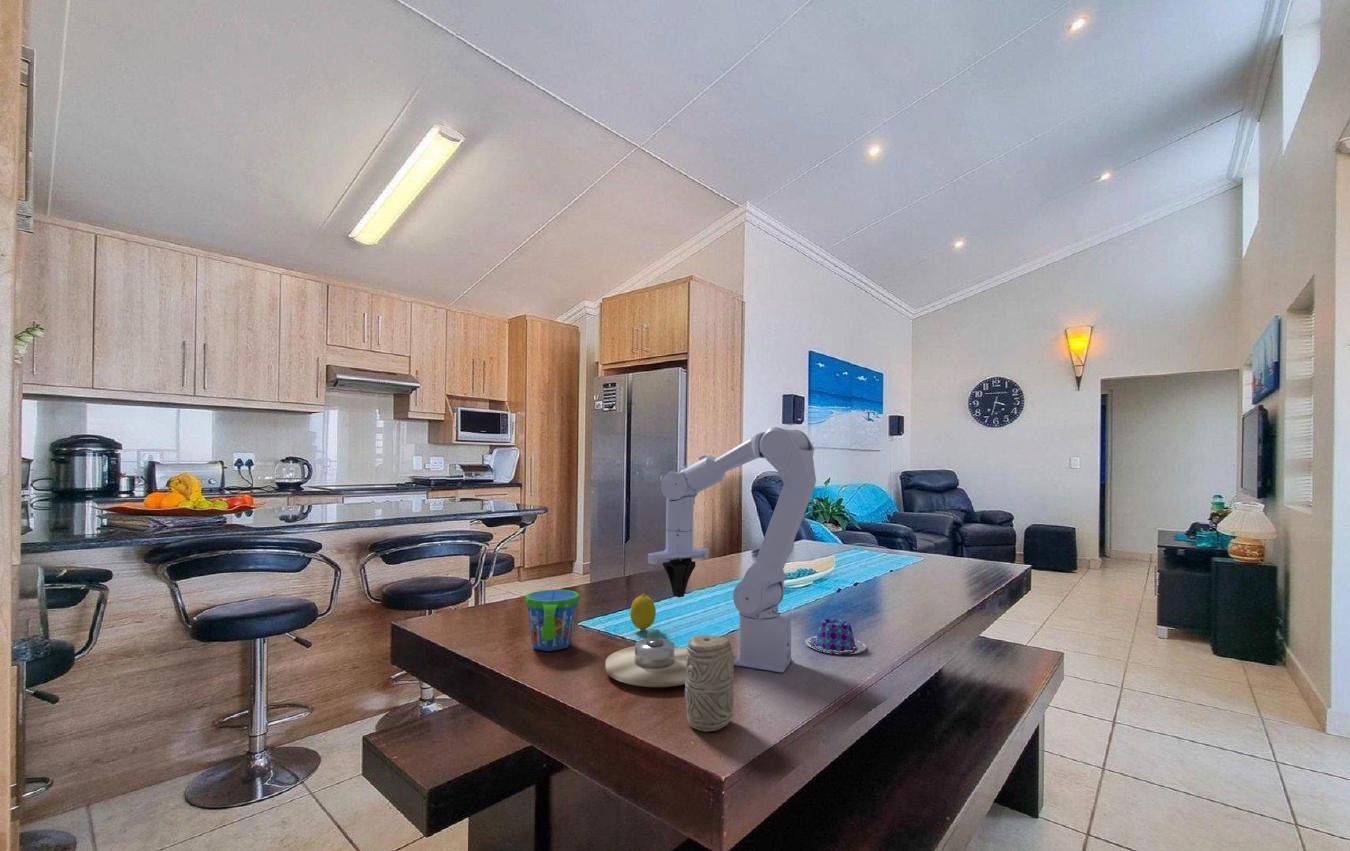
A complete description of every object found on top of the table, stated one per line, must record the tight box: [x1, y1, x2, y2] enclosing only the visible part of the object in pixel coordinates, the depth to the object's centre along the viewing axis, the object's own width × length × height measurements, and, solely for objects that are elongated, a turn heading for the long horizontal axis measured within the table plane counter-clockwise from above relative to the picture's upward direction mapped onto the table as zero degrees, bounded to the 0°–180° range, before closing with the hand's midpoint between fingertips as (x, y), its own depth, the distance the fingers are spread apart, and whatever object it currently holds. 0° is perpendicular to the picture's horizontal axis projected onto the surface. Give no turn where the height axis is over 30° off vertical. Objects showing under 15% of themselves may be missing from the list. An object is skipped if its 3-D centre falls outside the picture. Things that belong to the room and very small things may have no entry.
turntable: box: [605, 628, 688, 688], centre depth 100 cm, size 18×18×4 cm
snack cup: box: [524, 589, 580, 652], centre depth 114 cm, size 16×10×10 cm
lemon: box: [630, 593, 657, 632], centre depth 125 cm, size 6×6×8 cm
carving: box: [684, 634, 735, 733], centre depth 81 cm, size 6×8×12 cm
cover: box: [634, 638, 676, 669], centre depth 100 cm, size 7×7×4 cm
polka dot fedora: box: [804, 618, 867, 655], centre depth 117 cm, size 12×12×5 cm
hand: (678, 596), depth 118 cm, fingers closed
